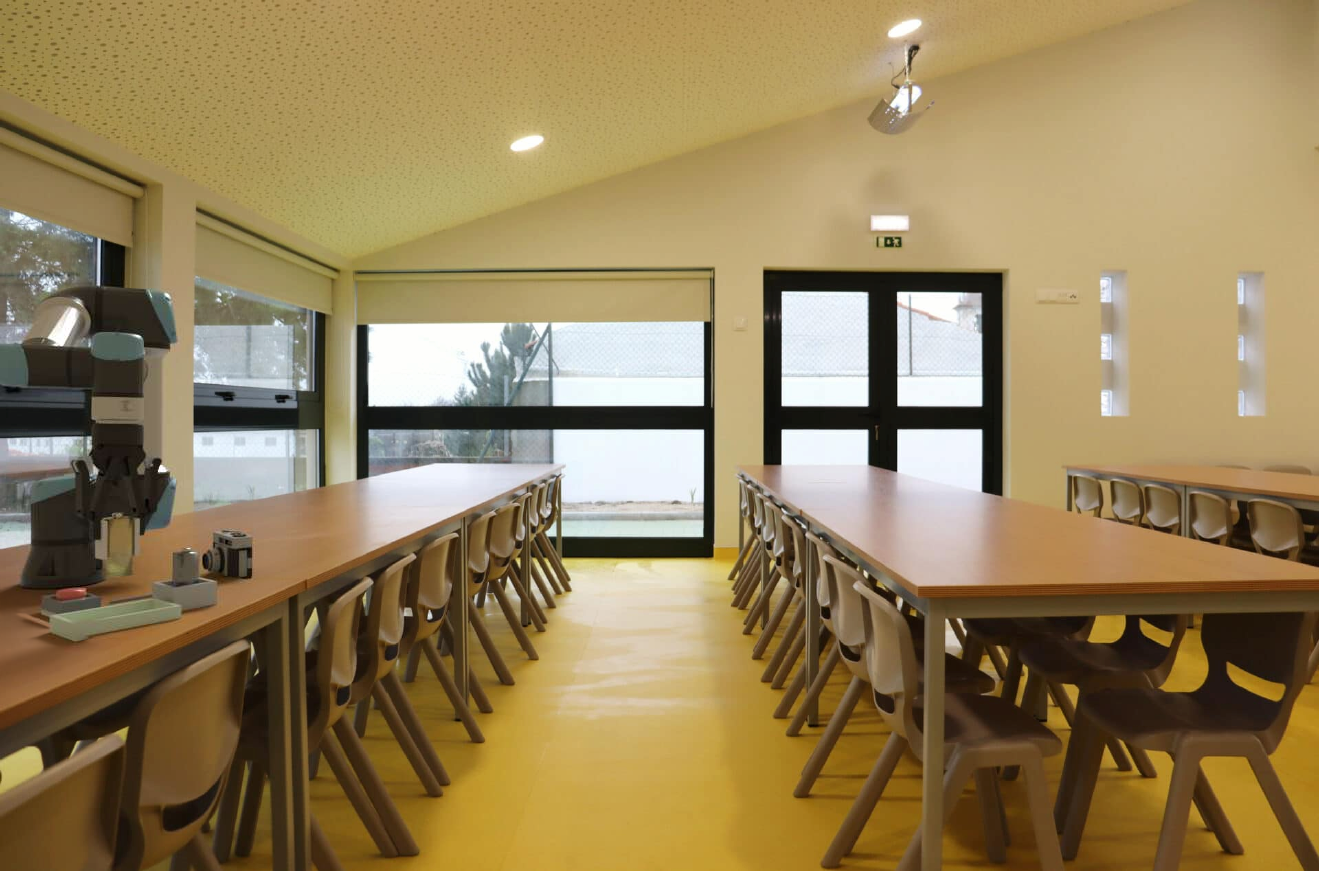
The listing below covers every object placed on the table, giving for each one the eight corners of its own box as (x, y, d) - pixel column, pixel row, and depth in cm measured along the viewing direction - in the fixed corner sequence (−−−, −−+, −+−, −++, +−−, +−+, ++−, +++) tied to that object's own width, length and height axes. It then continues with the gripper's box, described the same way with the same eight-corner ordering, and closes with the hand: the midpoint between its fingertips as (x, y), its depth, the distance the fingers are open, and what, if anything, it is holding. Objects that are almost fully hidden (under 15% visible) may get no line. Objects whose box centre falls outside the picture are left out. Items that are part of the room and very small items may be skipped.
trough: (49, 632, 136) (49, 615, 136) (155, 613, 150) (155, 598, 150) (74, 641, 131) (74, 624, 131) (181, 621, 145) (181, 605, 145)
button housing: (37, 615, 147) (37, 596, 147) (79, 608, 152) (79, 590, 152) (58, 623, 142) (58, 603, 142) (101, 616, 147) (101, 597, 147)
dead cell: (167, 604, 154) (169, 548, 154) (192, 601, 157) (194, 546, 158) (176, 607, 151) (178, 550, 151) (202, 604, 155) (203, 548, 155)
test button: (52, 601, 147) (52, 590, 147) (79, 597, 150) (79, 586, 150) (62, 605, 144) (62, 593, 144) (90, 600, 148) (90, 589, 148)
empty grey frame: (105, 606, 154) (105, 601, 154) (158, 597, 163) (158, 592, 162) (124, 612, 150) (124, 607, 150) (178, 603, 158) (178, 598, 158)
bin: (152, 609, 153) (152, 582, 153) (195, 601, 160) (195, 576, 160) (173, 615, 149) (173, 588, 149) (217, 607, 156) (217, 581, 155)
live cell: (97, 575, 140) (97, 513, 139) (125, 571, 143) (125, 511, 143) (109, 578, 137) (109, 515, 137) (137, 574, 141) (137, 513, 141)
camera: (194, 573, 187) (194, 530, 187) (232, 569, 193) (232, 527, 193) (214, 582, 178) (214, 537, 178) (254, 578, 184) (254, 534, 183)
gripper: (69, 422, 130) (68, 566, 131) (181, 423, 145) (180, 552, 145) (49, 421, 135) (49, 561, 135) (160, 422, 149) (160, 548, 150)
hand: (117, 556), depth 140 cm, fingers closed on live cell, 4 cm apart
